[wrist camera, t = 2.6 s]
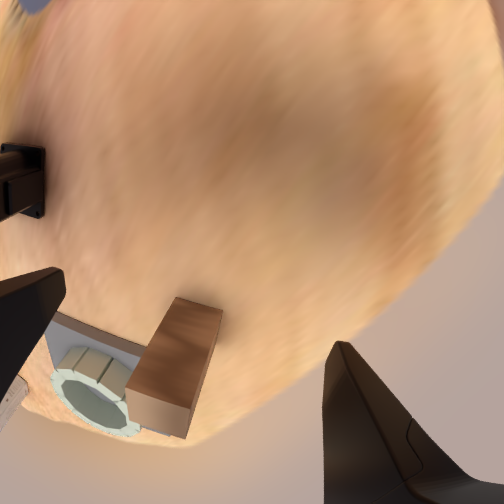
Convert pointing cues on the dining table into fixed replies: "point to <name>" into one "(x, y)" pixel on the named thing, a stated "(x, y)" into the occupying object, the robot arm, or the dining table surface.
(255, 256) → the dining table surface
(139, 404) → the walnut peg
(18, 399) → the skincare box
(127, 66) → the dining table surface
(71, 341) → the collar holder
